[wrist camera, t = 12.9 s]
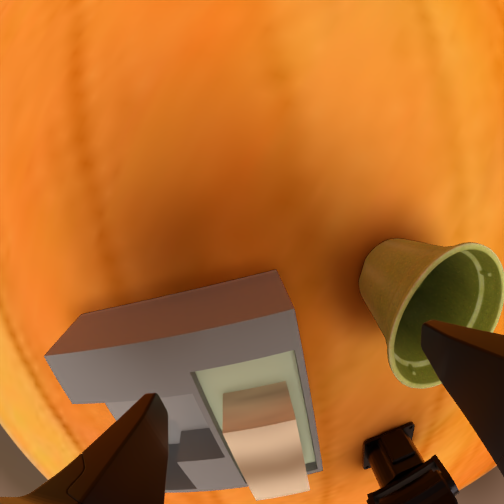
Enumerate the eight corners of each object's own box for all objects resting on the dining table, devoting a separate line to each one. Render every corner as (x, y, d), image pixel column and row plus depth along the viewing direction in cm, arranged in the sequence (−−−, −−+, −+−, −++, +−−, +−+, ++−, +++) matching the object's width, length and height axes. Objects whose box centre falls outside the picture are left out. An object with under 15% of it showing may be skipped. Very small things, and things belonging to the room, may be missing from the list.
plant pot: (447, 283, 23) (511, 323, 15) (368, 347, 24) (414, 411, 16) (410, 194, 21) (489, 210, 13) (315, 265, 22) (362, 319, 13)
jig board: (307, 420, 26) (323, 470, 20) (154, 444, 26) (144, 492, 19) (276, 269, 22) (294, 308, 15) (81, 314, 22) (44, 355, 15)
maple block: (301, 457, 20) (310, 490, 17) (252, 467, 20) (256, 500, 17) (285, 380, 18) (295, 419, 14) (222, 393, 18) (222, 433, 14)
